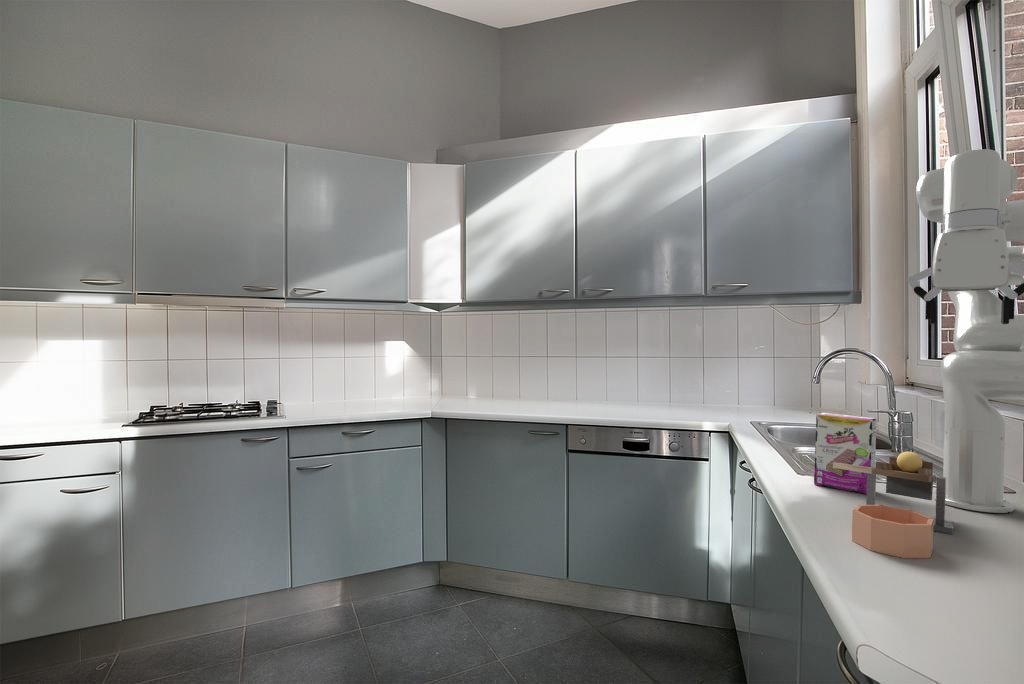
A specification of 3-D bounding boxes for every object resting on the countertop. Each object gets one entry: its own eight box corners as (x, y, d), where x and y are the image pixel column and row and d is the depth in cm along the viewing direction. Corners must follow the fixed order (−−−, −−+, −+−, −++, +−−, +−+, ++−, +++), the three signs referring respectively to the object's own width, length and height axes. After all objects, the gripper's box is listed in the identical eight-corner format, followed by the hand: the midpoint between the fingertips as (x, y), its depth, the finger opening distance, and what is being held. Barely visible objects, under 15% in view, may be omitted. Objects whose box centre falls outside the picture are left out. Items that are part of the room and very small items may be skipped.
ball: (897, 472, 107) (898, 451, 108) (922, 475, 105) (923, 454, 105) (894, 469, 104) (896, 448, 105) (920, 473, 102) (922, 451, 103)
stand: (861, 510, 107) (862, 464, 107) (953, 527, 97) (955, 477, 97) (857, 515, 103) (858, 468, 103) (952, 534, 94) (953, 482, 94)
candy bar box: (813, 485, 125) (814, 413, 125) (819, 481, 129) (820, 412, 129) (870, 495, 117) (872, 419, 117) (875, 491, 121) (877, 417, 121)
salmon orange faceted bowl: (860, 529, 95) (860, 501, 95) (934, 545, 88) (935, 514, 88) (848, 545, 87) (849, 514, 87) (928, 563, 81) (929, 530, 81)
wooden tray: (850, 486, 113) (852, 452, 114) (935, 500, 104) (936, 463, 105) (831, 487, 100) (833, 448, 101) (927, 503, 90) (929, 461, 91)
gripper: (1035, 223, 92) (1032, 324, 92) (908, 233, 102) (906, 324, 102) (1043, 214, 86) (1040, 322, 86) (908, 226, 96) (905, 322, 96)
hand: (967, 323), depth 94 cm, fingers open, 9 cm apart
